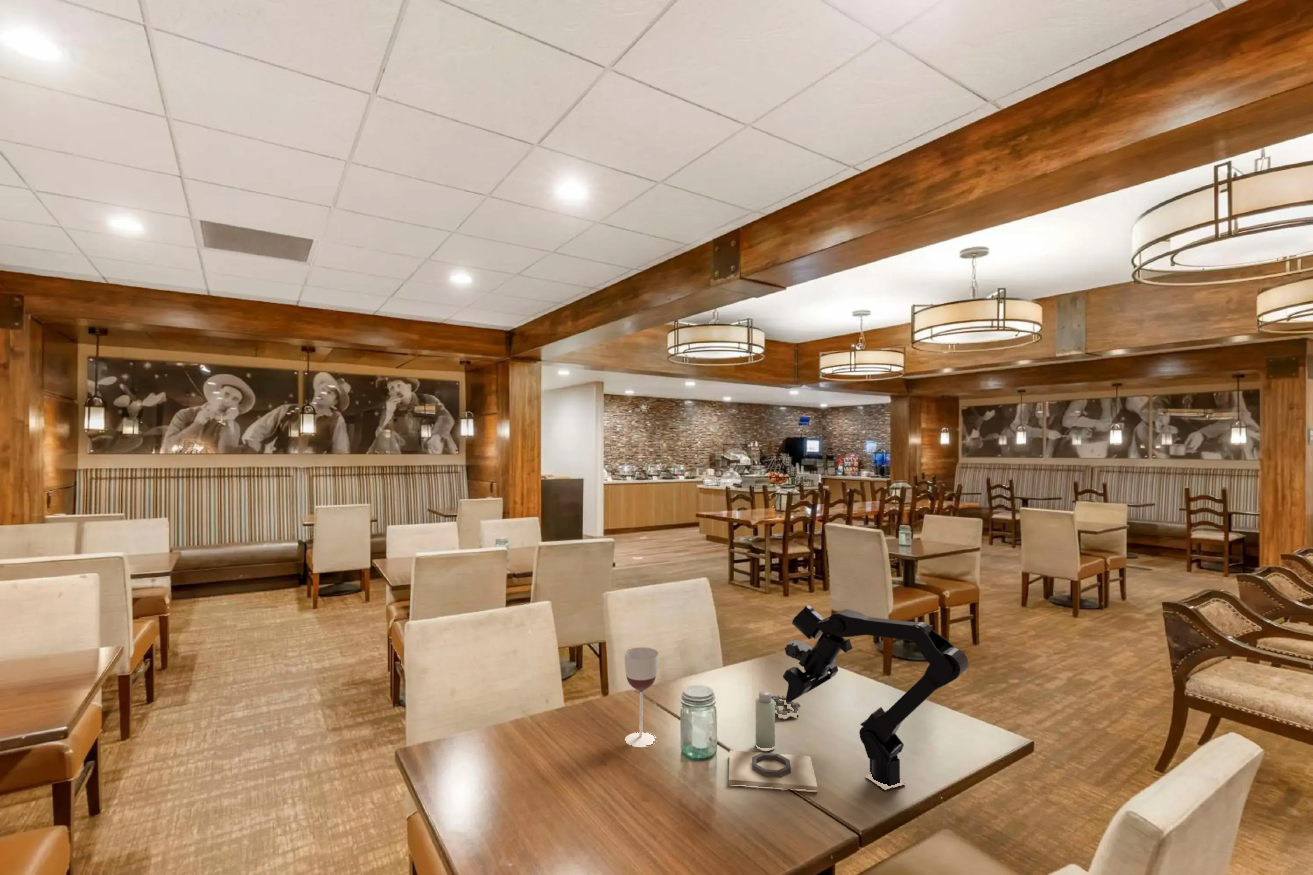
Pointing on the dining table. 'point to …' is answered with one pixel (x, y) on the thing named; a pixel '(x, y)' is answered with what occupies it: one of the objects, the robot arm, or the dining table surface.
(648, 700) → the dining table surface
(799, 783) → the board
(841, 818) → the dining table surface
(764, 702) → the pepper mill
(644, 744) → the wineglass
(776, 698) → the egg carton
